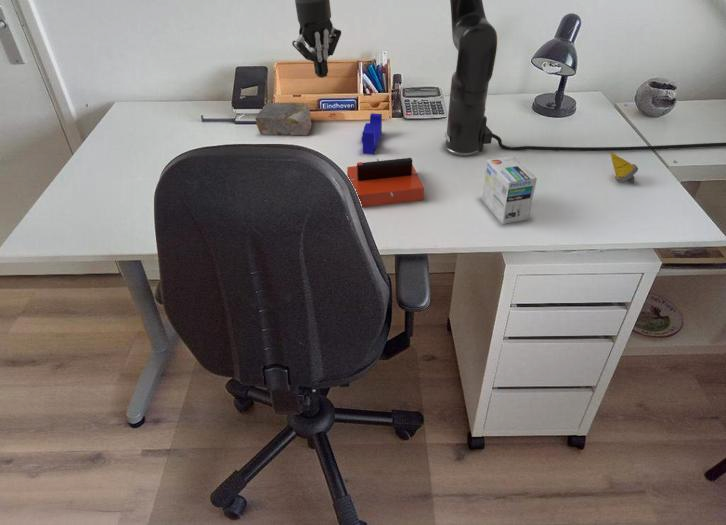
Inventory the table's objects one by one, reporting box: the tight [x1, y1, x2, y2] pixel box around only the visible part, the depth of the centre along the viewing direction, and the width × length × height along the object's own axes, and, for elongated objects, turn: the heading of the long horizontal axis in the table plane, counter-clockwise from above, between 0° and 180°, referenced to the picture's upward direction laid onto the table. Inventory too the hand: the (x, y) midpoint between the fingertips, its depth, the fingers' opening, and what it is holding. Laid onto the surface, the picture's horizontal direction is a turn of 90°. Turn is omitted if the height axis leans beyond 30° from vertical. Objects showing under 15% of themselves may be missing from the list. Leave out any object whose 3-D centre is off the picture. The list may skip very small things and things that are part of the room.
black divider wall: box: [356, 157, 413, 181], centre depth 128 cm, size 13×1×4 cm, turn 100°
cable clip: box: [361, 112, 383, 155], centre depth 148 cm, size 12×4×6 cm, turn 168°
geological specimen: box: [255, 102, 313, 137], centre depth 157 cm, size 11×6×15 cm
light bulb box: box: [481, 155, 538, 225], centre depth 121 cm, size 11×7×11 cm, turn 17°
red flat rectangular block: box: [346, 158, 425, 208], centre depth 130 cm, size 17×17×4 cm
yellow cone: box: [609, 151, 639, 184], centre depth 131 cm, size 5×5×10 cm
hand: (322, 76), depth 129 cm, fingers closed
